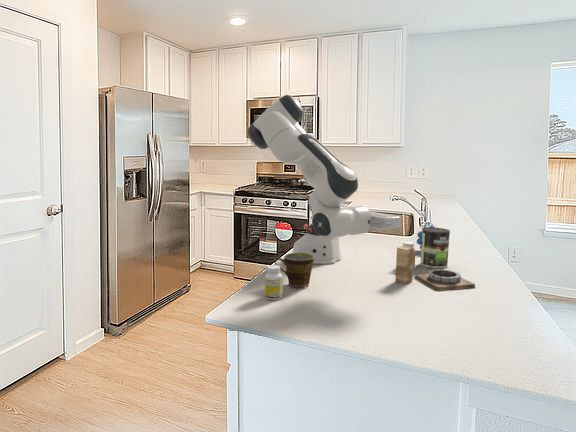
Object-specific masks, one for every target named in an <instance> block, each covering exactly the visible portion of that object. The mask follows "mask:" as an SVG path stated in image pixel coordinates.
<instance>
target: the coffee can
mask: <svg viewBox="0 0 576 432" xmlns="http://www.w3.org/2000/svg"><path fill="white" fill-rule="evenodd" d="M422 228H423V227H422ZM421 231H422V248H421V249H420V251H421V253H420V263H419V264H420V265H421V266H423V267H426V268H431V269H446V268H447V267H448V261H449V260H448V259H449V249H450V248H449V245H450V233H451V230H450V229H447V228H443V227H442V228H441V227H435V228H429V227H428V228H423V229H421Z"/></svg>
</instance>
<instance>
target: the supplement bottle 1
mask: <svg viewBox="0 0 576 432" xmlns="http://www.w3.org/2000/svg"><path fill="white" fill-rule="evenodd" d="M280 268H281V266H280V265H278V266H277V265H275V264H274V265H272V264H271V265H268V266H267V268H266V271H267V273H265V275H264V287H265V290H264V296H265V299H266V300H269V301H277V300H278V301H279V300H281V299H283V297H284V296H283V295H284V294H283V293H284V290H283V289H284V285H283V284H284V283H283V282H284V281H283V280H284V278H283V274H282V273H281V269H280Z"/></svg>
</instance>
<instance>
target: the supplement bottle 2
mask: <svg viewBox="0 0 576 432" xmlns="http://www.w3.org/2000/svg"><path fill="white" fill-rule="evenodd" d="M402 246H407V247H412V248H414V247H415V243H414V242H412V241H403V243H402ZM415 263H416V248H414V257H413V269H415V267H416V266H415V265H416V264H415Z"/></svg>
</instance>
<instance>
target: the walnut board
mask: <svg viewBox="0 0 576 432" xmlns="http://www.w3.org/2000/svg"><path fill="white" fill-rule="evenodd" d="M442 277H448V276H442ZM414 279H416V280H418V281H420V282H421V283H423V284H424V285H427V286H428V287H430V288H432V289H434V290H435V291H437V292H438V291H449V290H450V291H451V290H461V289H463V290H464V289H471V288H473V289H474V288H476V283H474V282H472V281H469V280H468V279H465V278H463V277H461V280H460V282H459V283H456V284H443V283H438V282H433V281H431V280H430V279H429V273H421V274H420V273H419V274H417V273H416V274H415V276H414Z"/></svg>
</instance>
